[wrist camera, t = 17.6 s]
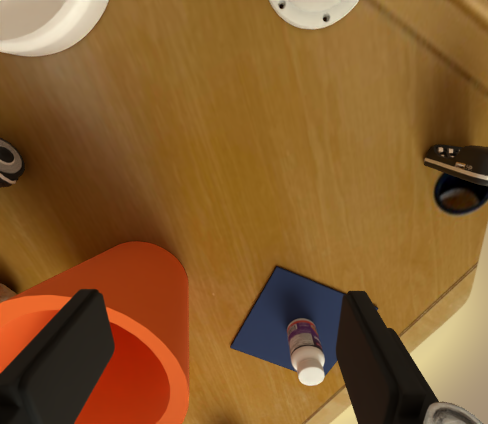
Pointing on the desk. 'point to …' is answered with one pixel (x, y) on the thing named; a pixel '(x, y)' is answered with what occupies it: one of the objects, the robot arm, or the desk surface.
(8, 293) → the fruit
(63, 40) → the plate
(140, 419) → the flowerpot
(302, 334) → the pill bottle
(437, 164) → the battery charger
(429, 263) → the desk surface
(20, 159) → the headset
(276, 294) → the mat
